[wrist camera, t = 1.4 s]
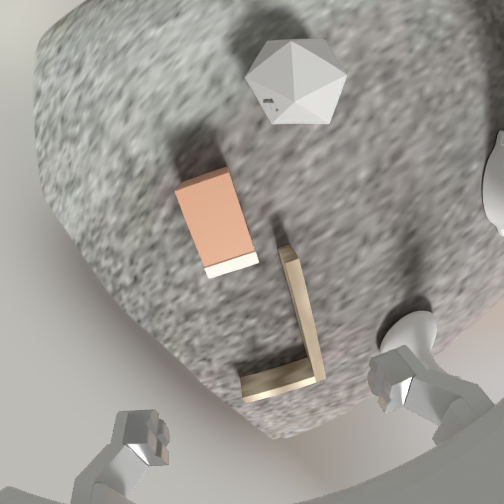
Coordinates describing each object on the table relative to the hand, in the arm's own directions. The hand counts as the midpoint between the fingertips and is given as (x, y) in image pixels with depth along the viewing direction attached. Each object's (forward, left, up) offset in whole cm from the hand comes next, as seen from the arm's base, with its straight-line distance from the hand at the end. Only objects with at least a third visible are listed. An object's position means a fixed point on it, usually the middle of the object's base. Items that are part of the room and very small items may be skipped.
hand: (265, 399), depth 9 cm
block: (+1, -1, -24) cm, 24 cm away
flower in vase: (-21, +28, -24) cm, 42 cm away
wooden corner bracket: (+1, +15, -23) cm, 28 cm away
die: (-10, -12, -24) cm, 28 cm away
